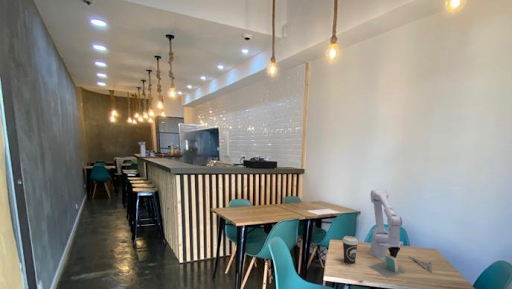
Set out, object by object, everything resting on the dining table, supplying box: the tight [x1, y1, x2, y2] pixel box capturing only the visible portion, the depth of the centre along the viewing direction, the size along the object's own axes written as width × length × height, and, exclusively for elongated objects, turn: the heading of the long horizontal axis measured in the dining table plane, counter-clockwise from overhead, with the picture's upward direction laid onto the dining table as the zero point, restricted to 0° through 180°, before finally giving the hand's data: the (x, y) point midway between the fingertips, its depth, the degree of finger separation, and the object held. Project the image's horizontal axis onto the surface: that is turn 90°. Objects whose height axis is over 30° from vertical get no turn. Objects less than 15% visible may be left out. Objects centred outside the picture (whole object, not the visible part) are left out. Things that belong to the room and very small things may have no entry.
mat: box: [367, 261, 406, 279], centre depth 145 cm, size 13×16×1 cm
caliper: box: [408, 255, 433, 274], centre depth 153 cm, size 20×1×6 cm, turn 0°
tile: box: [384, 253, 399, 272], centre depth 144 cm, size 6×2×8 cm, turn 25°
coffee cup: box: [341, 235, 359, 265], centre depth 153 cm, size 10×10×15 cm
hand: (393, 258), depth 145 cm, fingers closed
